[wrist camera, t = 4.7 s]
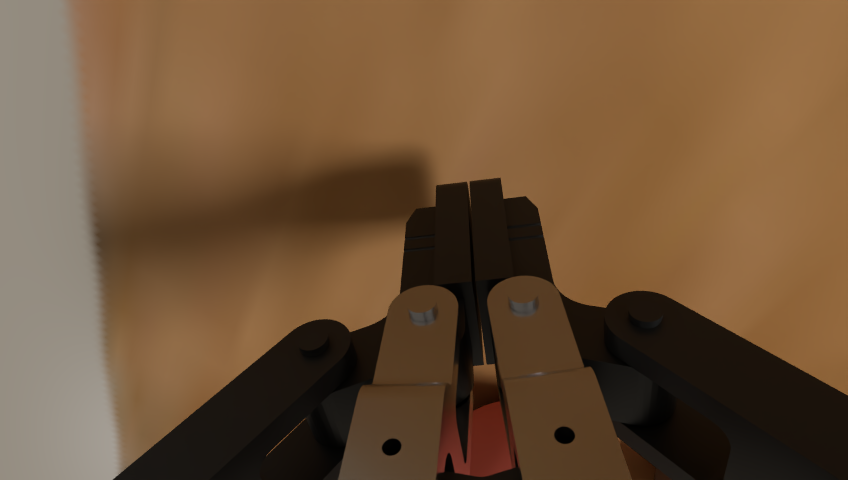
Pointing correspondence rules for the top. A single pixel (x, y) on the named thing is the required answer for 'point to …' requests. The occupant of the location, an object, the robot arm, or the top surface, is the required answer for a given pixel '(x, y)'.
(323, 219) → the top surface
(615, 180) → the top surface
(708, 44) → the top surface
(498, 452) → the ball
